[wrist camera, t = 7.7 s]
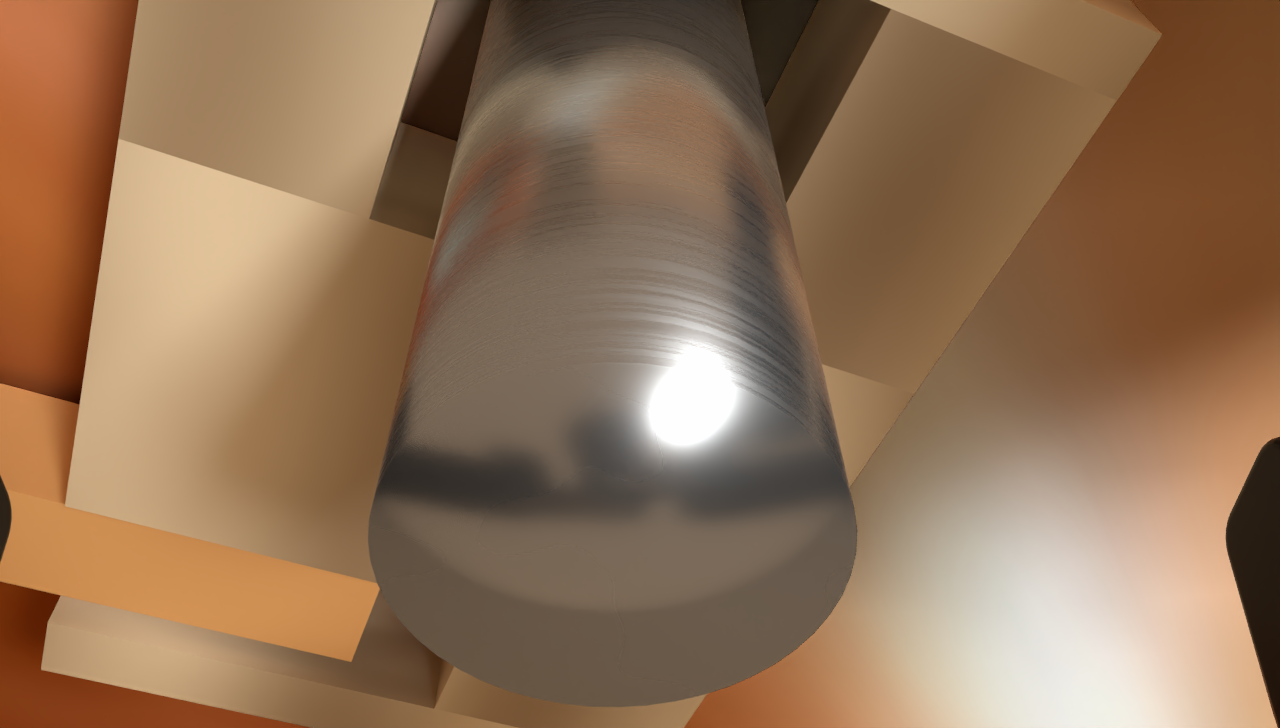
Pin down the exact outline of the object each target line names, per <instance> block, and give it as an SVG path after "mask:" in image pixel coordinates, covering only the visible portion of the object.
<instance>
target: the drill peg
mask: <svg viewBox="0 0 1280 728" xmlns="http://www.w3.org/2000/svg"><path fill="white" fill-rule="evenodd" d="M856 544H857V526H856V519H855V512H854V506H853V501H852V497H851V492H850V488H849V483H848V479H847V474H846V470H845V465H844V461H843V456H842V452H841V447H840V443H839V439H838V434H837V430H836V425H835V421H834V416H833V412H832V407H831V403H830V398H829V394H828V389H827V385H826V380H825V376H824V371H823V367H822V362H821V358H820V353H819V349H818V344H817V340H816V335H815V331H814V327H813V322H812V318H811V313H810V309H809V304H808V300H807V295H806V291H805V286H804V282H803V277H802V273H801V268H800V264H799V259H798V255H797V250H796V246H795V241H794V237H793V232H792V228H791V223H790V219H789V214H788V210H787V206H786V201H785V197H784V192H783V188H782V183H781V179H780V174H779V170H778V165H777V161H776V156H775V152H774V147H773V143H772V138H771V134H770V129H769V125H768V120H767V116H766V111H765V107H764V102H763V98H762V93H761V89H760V85H759V80H758V76H757V71H756V67H755V62H754V58H753V53H752V49H751V44H750V40H749V35H748V31H747V26H746V22H745V17H744V13H743V8H742V4H741V0H491V2H490V6H489V10H488V14H487V19H486V23H485V27H484V31H483V36H482V40H481V44H480V48H479V53H478V57H477V61H476V65H475V70H474V74H473V78H472V82H471V87H470V91H469V95H468V99H467V104H466V108H465V112H464V116H463V121H462V125H461V129H460V133H459V138H458V142H457V146H456V150H455V155H454V159H453V163H452V167H451V172H450V176H449V180H448V184H447V189H446V193H445V197H444V201H443V206H442V210H441V214H440V218H439V223H438V227H437V231H436V235H435V240H434V244H433V248H432V252H431V257H430V261H429V265H428V269H427V274H426V278H425V282H424V286H423V291H422V295H421V299H420V303H419V308H418V312H417V316H416V320H415V325H414V329H413V333H412V337H411V342H410V346H409V350H408V354H407V359H406V363H405V367H404V371H403V376H402V380H401V384H400V388H399V393H398V397H397V401H396V405H395V410H394V414H393V418H392V422H391V427H390V431H389V435H388V439H387V444H386V448H385V452H384V456H383V461H382V465H381V469H380V473H379V478H378V482H377V486H376V490H375V495H374V499H373V503H372V507H371V512H370V516H369V529H368V546H369V554H370V562H371V565H372V568H373V572H374V575H375V578H376V581H377V584H378V586H379V588H380V590H381V592H382V594H383V596H384V598H385V600H386V602H387V604H388V605H389V606H390V608H391V609H392V611H393V612H394V613H395V615H396V616H397V617H398V619H399V620H400V622H401V623H402V624H403V625H404V626H405V627H406V628H407V629H408V630H409V631H410V632H411V633H412V634H413V635H414V636H415V637H416V638H417V640H418V641H420V642H421V643H422V644H423V645H425V646H426V647H427V648H428V649H430V650H431V651H432V652H433V653H435V654H436V655H437V656H439V657H440V658H442V659H443V660H445V661H446V662H448V663H450V664H451V665H453V666H454V667H456V668H458V669H459V670H461V671H463V672H465V673H467V674H469V675H471V676H473V677H475V678H477V679H479V680H481V681H483V682H486V683H489V684H491V685H494V686H496V687H499V688H502V689H504V690H507V691H510V692H514V693H517V694H521V695H524V696H528V697H532V698H535V699H541V700H546V701H551V702H557V703H562V704H571V705H581V706H590V707H630V706H647V705H654V704H661V703H668V702H675V701H679V700H684V699H688V698H692V697H697V696H701V695H705V694H708V693H711V692H714V691H717V690H720V689H723V688H726V687H729V686H731V685H734V684H736V683H738V682H741V681H743V680H745V679H748V678H750V677H752V676H754V675H756V674H758V673H760V672H761V671H763V670H765V669H767V668H769V667H770V666H772V665H774V664H776V663H777V662H779V661H780V660H781V659H783V658H784V657H786V656H787V655H789V654H790V653H791V652H793V651H794V650H796V649H797V648H798V647H799V646H800V645H801V644H802V643H804V642H805V641H806V640H807V639H808V638H809V637H810V636H811V635H812V634H814V633H815V631H816V630H817V629H818V628H819V627H820V626H821V624H822V623H823V622H824V621H825V620H826V619H827V617H828V616H829V615H830V614H831V612H832V610H833V609H834V607H835V606H836V604H837V603H838V601H839V599H840V598H841V596H842V594H843V592H844V590H845V587H846V585H847V583H848V580H849V578H850V576H851V572H852V568H853V564H854V560H855V555H856Z"/></svg>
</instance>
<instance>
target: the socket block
mask: <svg viewBox="0 0 1280 728" xmlns="http://www.w3.org/2000/svg"><path fill="white" fill-rule="evenodd" d="M436 4H437V0H139V2H138V9H137V16H136V22H135V29H134V36H133V43H132V50H131V57H130V63H129V70H128V77H127V84H126V91H125V98H124V104H123V111H122V118H121V125H120V132H119V139H118V145H117V152H116V159H115V166H114V173H113V180H112V187H111V193H110V200H109V207H108V214H107V221H106V228H105V234H104V241H103V248H102V255H101V262H100V269H99V275H98V282H97V289H96V296H95V303H94V310H93V316H92V323H91V330H90V337H89V344H88V351H87V357H86V364H85V371H84V378H83V385H82V392H81V398H80V405H79V412H78V419H77V426H76V433H75V440H74V446H73V453H72V460H71V467H70V474H69V481H68V487H67V494H66V501H65V506H66V507H70V508H74V509H78V510H82V511H86V512H90V513H95V514H99V515H103V516H107V517H111V518H115V519H119V520H123V521H127V522H131V523H135V524H139V525H143V526H147V527H151V528H155V529H159V530H163V531H167V532H171V533H176V534H180V535H184V536H188V537H192V538H196V539H200V540H204V541H208V542H212V543H216V544H220V545H224V546H228V547H232V548H236V549H240V550H244V551H248V552H252V553H257V554H261V555H265V556H269V557H273V558H277V559H281V560H285V561H289V562H293V563H297V564H301V565H305V566H309V567H313V568H317V569H321V570H325V571H329V572H334V573H338V574H342V575H346V576H350V577H354V578H358V579H362V580H366V581H370V582H374V583H377V581H376V578H375V575H374V572H373V568H372V565H371V562H370V554H369V546H368V529H369V516H370V512H371V507H372V503H373V499H374V495H375V490H376V486H377V482H378V478H379V473H380V469H381V465H382V461H383V456H384V452H385V448H386V444H387V439H388V435H389V431H390V427H391V422H392V418H393V414H394V410H395V405H396V401H397V397H398V393H399V388H400V384H401V380H402V376H403V371H404V367H405V363H406V359H407V354H408V350H409V346H410V342H411V337H412V333H413V329H414V325H415V320H416V316H417V312H418V308H419V303H420V299H421V295H422V291H423V286H424V282H425V278H426V274H427V269H428V265H429V261H430V257H431V252H432V248H433V244H434V240H435V235H436V231H437V227H438V223H439V218H440V214H441V210H442V206H443V201H444V197H445V193H446V189H447V184H448V180H449V176H450V172H451V167H452V163H453V159H454V155H455V150H456V146H457V141H455V140H452V139H449V138H446V137H443V136H440V135H437V134H434V133H431V132H428V131H425V130H422V129H420V128H417V127H414V126H411V125H408V124H405V123H402V122H401V120H402V116H403V113H404V110H405V106H406V103H407V100H408V96H409V93H410V90H411V87H412V83H413V80H414V77H415V73H416V70H417V67H418V63H419V60H420V57H421V53H422V50H423V47H424V43H425V40H426V37H427V33H428V30H429V27H430V24H431V20H432V17H433V14H434V10H435V7H436ZM1161 36H1162V34H1161V33H1160V32H1159V31H1158V29H1157V28H1156V27H1155V26H1154V25H1153V24H1152V23H1151V22H1150V21H1149V20H1148V19H1147V18H1146V17H1145V16H1144V15H1143V13H1142V12H1141V11H1140V10H1139V9H1138V8H1137V7H1136V6H1135V5H1134V4H1133V3H1132V2H1131V1H1130V0H819V1H818V3H817V5H816V7H815V9H814V11H813V13H812V15H811V17H810V19H809V21H808V23H807V25H806V27H805V29H804V31H803V33H802V35H801V37H800V39H799V41H798V43H797V45H796V47H795V49H794V51H793V53H792V55H791V57H790V59H789V61H788V63H787V65H786V67H785V69H784V71H783V73H782V75H781V77H780V79H779V81H778V83H777V85H776V87H775V89H774V91H773V93H772V95H771V97H770V99H769V101H768V103H767V105H766V107H765V111H766V116H767V120H768V125H769V129H770V134H771V138H772V143H773V147H774V152H775V156H776V161H777V165H778V170H779V174H780V179H781V183H782V188H783V192H784V197H785V201H786V206H787V210H788V214H789V219H790V223H791V228H792V232H793V237H794V241H795V246H796V250H797V255H798V259H799V264H800V268H801V273H802V277H803V282H804V286H805V291H806V295H807V300H808V304H809V309H810V313H811V318H812V322H813V327H814V331H815V335H816V340H817V344H818V349H819V353H820V358H821V362H822V367H823V371H824V376H825V380H826V385H827V389H828V394H829V398H830V403H831V407H832V412H833V416H834V421H835V425H836V430H837V434H838V439H839V443H840V447H841V452H842V456H843V461H844V465H845V470H846V474H847V479H848V483H849V488H850V486H851V485H852V484H853V482H854V481H855V479H856V478H857V476H858V475H859V473H860V472H861V471H862V469H863V468H864V466H865V465H866V463H867V462H868V460H869V459H870V458H871V456H872V455H873V453H874V452H875V450H876V449H877V447H878V446H879V445H880V443H881V442H882V440H883V439H884V437H885V436H886V434H887V433H888V431H889V430H890V429H891V427H892V426H893V424H894V423H895V421H896V420H897V418H898V417H899V416H900V414H901V413H902V411H903V410H904V408H905V407H906V405H907V404H908V403H909V401H910V400H911V398H912V397H913V395H914V394H915V392H916V391H917V390H918V388H919V387H920V385H921V384H922V382H923V381H924V379H925V378H926V376H927V375H928V374H929V372H930V371H931V369H932V368H933V366H934V365H935V363H936V362H937V361H938V359H939V358H940V356H941V355H942V353H943V352H944V350H945V349H946V348H947V346H948V345H949V343H950V342H951V340H952V339H953V337H954V336H955V335H956V333H957V332H958V330H959V329H960V327H961V326H962V324H963V323H964V321H965V320H966V319H967V317H968V316H969V314H970V313H971V311H972V310H973V308H974V307H975V306H976V304H977V303H978V301H979V300H980V298H981V297H982V295H983V294H984V293H985V291H986V290H987V288H988V287H989V285H990V284H991V282H992V281H993V280H994V278H995V277H996V275H997V274H998V272H999V271H1000V269H1001V268H1002V266H1003V265H1004V264H1005V262H1006V261H1007V259H1008V258H1009V256H1010V255H1011V253H1012V252H1013V251H1014V249H1015V248H1016V246H1017V245H1018V243H1019V242H1020V240H1021V239H1022V238H1023V236H1024V235H1025V233H1026V232H1027V230H1028V229H1029V227H1030V226H1031V225H1032V223H1033V222H1034V220H1035V219H1036V217H1037V216H1038V214H1039V213H1040V211H1041V210H1042V209H1043V207H1044V206H1045V204H1046V203H1047V201H1048V200H1049V198H1050V197H1051V196H1052V194H1053V193H1054V191H1055V190H1056V188H1057V187H1058V185H1059V184H1060V183H1061V181H1062V180H1063V178H1064V177H1065V175H1066V174H1067V172H1068V171H1069V170H1070V168H1071V167H1072V165H1073V164H1074V162H1075V161H1076V159H1077V158H1078V156H1079V155H1080V154H1081V152H1082V151H1083V149H1084V148H1085V146H1086V145H1087V143H1088V142H1089V141H1090V139H1091V138H1092V136H1093V135H1094V133H1095V132H1096V130H1097V129H1098V128H1099V126H1100V125H1101V123H1102V122H1103V120H1104V119H1105V117H1106V116H1107V115H1108V113H1109V112H1110V110H1111V109H1112V107H1113V106H1114V104H1115V103H1116V101H1117V100H1118V99H1119V97H1120V96H1121V94H1122V93H1123V91H1124V90H1125V88H1126V87H1127V86H1128V84H1129V83H1130V81H1131V80H1132V78H1133V77H1134V75H1135V74H1136V73H1137V71H1138V70H1139V68H1140V67H1141V65H1142V64H1143V62H1144V61H1145V60H1146V58H1147V57H1148V55H1149V54H1150V52H1151V51H1152V49H1153V48H1154V46H1155V45H1156V44H1157V42H1158V41H1159V39H1160V38H1161ZM41 670H45V671H49V672H54V673H59V674H63V675H68V676H73V677H77V678H82V679H87V680H91V681H96V682H101V683H105V684H110V685H115V686H119V687H124V688H129V689H133V690H138V691H143V692H147V693H152V694H157V695H161V696H166V697H171V698H175V699H180V700H185V701H189V702H194V703H198V704H203V705H208V706H212V707H217V708H222V709H226V710H231V711H236V712H240V713H245V714H250V715H254V716H259V717H264V718H268V719H273V720H278V721H282V722H287V723H292V724H296V725H301V726H306V727H310V728H684V727H685V725H686V724H687V722H688V721H689V720H690V718H691V717H692V715H693V714H694V712H695V711H696V709H697V708H698V706H699V705H700V704H701V702H702V701H703V699H704V698H705V696H706V695H707V694H705V695H701V696H697V697H692V698H688V699H684V700H679V701H675V702H668V703H661V704H654V705H647V706H630V707H590V706H581V705H571V704H562V703H557V702H551V701H546V700H541V699H535V698H532V697H528V696H524V695H521V694H517V693H514V692H510V691H507V690H504V689H502V688H499V687H496V686H494V685H491V684H489V683H486V682H483V681H481V680H479V679H477V678H475V677H473V676H471V675H469V674H467V673H465V672H463V671H461V670H459V669H458V668H456V667H454V666H453V665H451V664H450V663H448V662H446V661H445V660H443V659H442V658H440V657H439V656H437V655H436V654H435V653H433V652H432V651H431V650H430V649H428V648H427V647H426V646H425V645H423V644H422V643H421V642H420V641H418V640H417V638H416V637H415V636H414V635H413V634H412V633H411V632H410V631H409V630H408V629H407V628H406V627H405V626H404V625H403V624H402V623H401V622H400V620H399V619H398V617H397V616H396V615H395V613H394V612H393V611H392V609H391V608H390V606H389V605H388V604H387V602H386V600H385V598H384V596H383V594H382V592H381V590H379V592H378V595H377V597H376V600H375V603H374V605H373V608H372V610H371V613H370V615H369V618H368V620H367V623H366V626H365V628H364V631H363V633H362V636H361V638H360V641H359V643H358V646H357V649H356V651H355V654H354V656H353V659H352V661H351V662H349V661H345V660H340V659H336V658H332V657H327V656H323V655H319V654H314V653H310V652H305V651H301V650H297V649H292V648H288V647H284V646H279V645H275V644H271V643H266V642H262V641H258V640H253V639H249V638H244V637H240V636H236V635H231V634H227V633H223V632H218V631H214V630H210V629H205V628H201V627H197V626H192V625H188V624H184V623H179V622H175V621H170V620H166V619H162V618H157V617H153V616H149V615H144V614H140V613H136V612H131V611H127V610H123V609H118V608H114V607H109V606H105V605H101V604H96V603H92V602H88V601H83V600H79V599H75V598H70V597H66V596H62V595H61V596H60V598H59V600H58V602H57V604H56V606H55V608H54V611H53V613H52V615H51V617H50V619H49V621H48V624H47V631H46V638H45V645H44V651H43V658H42V665H41Z"/></svg>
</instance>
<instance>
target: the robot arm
mask: <svg viewBox="0 0 1280 728" xmlns="http://www.w3.org/2000/svg"><path fill="white" fill-rule="evenodd" d="M11 521H12V509H11V503H10V499H9V495H8V492H7V490H6V487H5V485H4V483H3V480H2V478H1V475H0V562H1V559H2V556H3V553H4V550H5V546H6V543H7V540H8V537H9V533H10V528H11ZM1226 546H1227V552H1228V556H1229V560H1230V563H1231V567H1232V570H1233V574H1234V577H1235V581H1236V584H1237V588H1238V591H1239V595H1240V598H1241V602H1242V605H1243V609H1244V612H1245V616H1246V620H1247V623H1248V627H1249V630H1250V634H1251V637H1252V641H1253V644H1254V648H1255V651H1256V655H1257V658H1258V662H1259V665H1260V669H1261V672H1262V676H1263V679H1264V683H1265V686H1266V690H1267V693H1268V697H1269V700H1270V704H1271V707H1272V711H1273V714H1274V717H1275V720H1276V723H1277V727H1278V728H1280V437H1277V438H1274V439H1271V440H1270V441H1268V442H1267V443H1266V444H1265V445H1264V446H1263V447H1262V449H1261V450H1260V452H1259V454H1258V456H1257V458H1256V460H1255V462H1254V464H1253V467H1252V469H1251V471H1250V473H1249V475H1248V477H1247V479H1246V481H1245V483H1244V486H1243V488H1242V490H1241V492H1240V494H1239V496H1238V498H1237V500H1236V503H1235V505H1234V507H1233V509H1232V511H1231V513H1230V516H1229V519H1228V522H1227V528H1226Z"/></svg>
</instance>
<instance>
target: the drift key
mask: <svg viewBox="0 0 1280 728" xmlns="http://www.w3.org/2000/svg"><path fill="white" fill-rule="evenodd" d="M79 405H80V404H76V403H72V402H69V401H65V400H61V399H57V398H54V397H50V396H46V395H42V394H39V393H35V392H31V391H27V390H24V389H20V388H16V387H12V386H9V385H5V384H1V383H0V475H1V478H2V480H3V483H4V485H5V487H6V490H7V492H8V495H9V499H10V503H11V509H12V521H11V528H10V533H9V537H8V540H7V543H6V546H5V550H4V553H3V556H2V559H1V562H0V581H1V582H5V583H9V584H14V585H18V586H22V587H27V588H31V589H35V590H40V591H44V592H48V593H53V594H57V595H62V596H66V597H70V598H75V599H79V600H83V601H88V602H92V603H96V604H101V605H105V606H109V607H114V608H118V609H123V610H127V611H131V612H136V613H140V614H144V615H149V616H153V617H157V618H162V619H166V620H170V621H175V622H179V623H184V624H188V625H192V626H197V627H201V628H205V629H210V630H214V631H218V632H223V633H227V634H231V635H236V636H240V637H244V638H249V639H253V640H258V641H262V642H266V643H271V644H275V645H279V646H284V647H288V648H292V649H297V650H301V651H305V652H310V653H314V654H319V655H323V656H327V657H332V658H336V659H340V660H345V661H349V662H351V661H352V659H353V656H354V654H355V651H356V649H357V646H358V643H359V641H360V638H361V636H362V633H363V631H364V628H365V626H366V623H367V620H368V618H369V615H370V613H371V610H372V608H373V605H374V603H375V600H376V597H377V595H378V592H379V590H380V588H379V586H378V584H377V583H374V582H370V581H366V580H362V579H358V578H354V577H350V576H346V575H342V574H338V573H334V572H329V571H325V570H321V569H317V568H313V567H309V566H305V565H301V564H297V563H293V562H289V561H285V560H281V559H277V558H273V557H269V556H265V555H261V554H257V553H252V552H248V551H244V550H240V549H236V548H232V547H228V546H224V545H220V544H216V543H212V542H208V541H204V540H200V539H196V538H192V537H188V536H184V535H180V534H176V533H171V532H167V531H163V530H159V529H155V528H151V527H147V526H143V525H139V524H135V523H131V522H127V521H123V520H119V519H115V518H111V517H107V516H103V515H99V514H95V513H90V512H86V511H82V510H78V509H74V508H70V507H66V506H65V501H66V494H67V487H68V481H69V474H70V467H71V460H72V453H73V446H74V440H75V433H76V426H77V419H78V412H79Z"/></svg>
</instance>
